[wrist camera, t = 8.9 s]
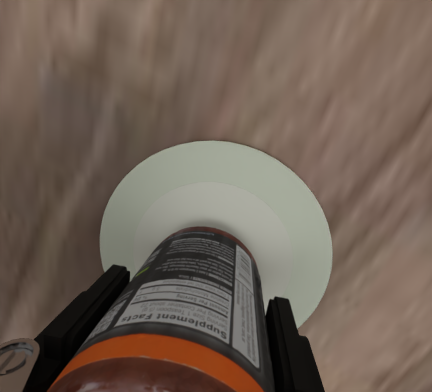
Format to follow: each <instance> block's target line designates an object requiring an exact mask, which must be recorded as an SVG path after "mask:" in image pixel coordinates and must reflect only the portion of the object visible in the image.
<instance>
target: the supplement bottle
mask: <svg viewBox="0 0 432 392" xmlns="http://www.w3.org/2000/svg"><path fill="white" fill-rule="evenodd" d="M47 392H275V380H274V374H273V368H272V359H271V353H270V346H269V337H268V331H267V324H266V317H265V309H264V302H263V294H262V286H261V279H260V275H259V272H258V268H257V264H256V261H255V259H254V258H253V256H252V254H251V252H250V251H249V250H248V249H247V247H246V246H245V245H244V244H243V243H242V242H241V241H240V240H238V239H237V238H236V237H234V236H233V235H231V234H229V233H227V232H226V231H222V230H220V229H216V228H212V227H206V226H196V227H188V228H184V229H181V230H179V231H177V232H175V233H173V234H171V235H170V236H168V237H167V238H166V239H165V240H163V241H162V242H161V243H160V244H159V245H158V246H157V247H156V249H155V250H154V251H153V252H152V254H151V255H150V256H149V257H148V259H147V260H146V261H145V263H144V264H143V265H142V267H141V268H140V269H139V271H138V272H137V273H136V274H135V276H134V277H133V278H132V280H131V281H130V282H129V284H128V285H127V286H126V287H125V289H124V290H123V291H122V293H121V294H120V295H119V297H118V298H117V299H116V300H115V302H114V303H113V304H112V306H111V307H110V309H109V310H108V311H107V312H106V314H105V315H104V316H103V318H102V319H101V321H100V322H99V323H98V324H97V326H96V327H95V328H94V330H93V331H92V332H91V334H90V335H89V336H88V338H87V339H86V340H85V342H84V343H83V344H82V346H81V347H80V348H79V350H78V351H77V352H76V353H75V355H74V356H73V358H72V359H71V360H70V361H69V363H68V364H67V366H66V367H65V368H64V369H63V371H62V372H61V373H60V375H59V376H58V377H57V379H56V380H55V381H54V383H53V384H52V385H51V387H50V388H49V389H48V391H47Z"/></svg>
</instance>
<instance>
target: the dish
mask: <svg viewBox="0 0 432 392" xmlns="http://www.w3.org/2000/svg"><path fill="white" fill-rule="evenodd" d="M196 226H206V227H212V228H216V229H220V230H222V231H226V232H227V233H229V234H231V235H233V236H234V237H236V238H237V239H238V240H240V241H241V242H242V243H243V244H244V245H245V246H246V247H247V249H248V250H249V251H250V252H251V254H252V256H253V258H254V259H255V261H256V264H257V268H258V272H259V275H260V279H261V286H262V294H263V302H264V309H265V315H266V311H267V307H268V303H269V300H270V299H274V297H275V296H277V297H282V298H287V299H289V301H290V305H291V308H292V312H293V315H294V319H295V323H296V326H297V329H298V328H299V327H300V326H301V325H302V324H303V323H304V322H305V321H306V320H307V319H308V318H309V317H310V315H311V314H312V313H313V311H314V310H315V309H316V307H317V306H318V304H319V302H320V300H321V299H322V297H323V295H324V292H325V290H326V287H327V285H328V281H329V277H330V273H331V268H332V255H333V254H332V240H331V235H330V231H329V226H328V223H327V220H326V218H325V215H324V213H323V210H322V208H321V207H320V205H319V203H318V201H317V200H316V198H315V196H314V195H313V193H312V192H311V191H310V189H309V188H308V187H307V186H306V184H305V183H304V182H303V181H302V180H301V179H300V178H299V177H298V176H297V175H296V174H295V173H294V172H293V171H292V170H290V169H289V168H288V167H286V166H285V165H284V164H282V163H281V162H279V161H278V160H277V159H275V158H273V157H272V156H270V155H268V154H266V153H264V152H262V151H260V150H257V149H255V148H252V147H250V146H247V145H243V144H238V143H234V142H228V141H217V140H210V141H196V142H191V143H185V144H180V145H177V146H174V147H170V148H167V149H164V150H162V151H160V152H158V153H156V154H154V155H152V156H150V157H148V158H147V159H146V160H144V161H143V162H141V163H140V164H138V165H137V166H136V167H135V168H134V169H133V170H131V171H130V172H129V173H128V174H127V175H126V176H125V177H124V179H123V180H122V181H121V182H120V184H119V185H118V186H117V187H116V189H115V191H114V193H113V194H112V196H111V198H110V199H109V202H108V204H107V207H106V209H105V212H104V215H103V219H102V223H101V231H100V254H101V260H102V266H103V269H104V272H106V271H107V270H108V269H109V268H110V267H111V266H112V265H113V264H115V265H120V266H125V267H127V271H130V281H131V280H132V278H133V277H134V276H135V274H136V273H137V272H138V271H139V269H140V268H141V267H142V265H143V264H144V263H145V261H146V260H147V259H148V257H149V256H150V255H151V254H152V252H153V251H154V250H155V249H156V247H157V246H158V245H159V244H160V243H161V242H162V241H163V240H165V239H166V238H167V237H168V236H170V235H171V234H173V233H175V232H177V231H179V230H181V229H184V228H188V227H196Z"/></svg>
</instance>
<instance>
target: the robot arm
mask: <svg viewBox="0 0 432 392" xmlns="http://www.w3.org/2000/svg"><path fill="white" fill-rule="evenodd" d="M129 282H130V271H127V267H125V266H120V265H115V264H113V265H112V266H111V267H110V268H109V269H108V270H107V271H106V272H105V273H104V274H103V275H102V276H101V277H100V278H99V279H98V280H97V281H96V282H95V283H94V284H93V285H92V286H91V287H90V288H89V289H88V290H87V291H84V292H82V293H81V294H79V295H78V296H77V297H76V298H75V299H74V300H73V301H72V302H71V303H70V304H69V305H68V306H67V307H66V308H65V309H64V310H63V311H62V312H61V313H60V314H59V315H58V316H57V317H56V318H55V319H54V320H53V321H52V322H51V323H50V324H49V325H48V326H47V327H46V328H45V329H44V330H43V331H42V332H41V333H40V334H39V335H38V336H37V337H36V338H35V339H34V340H32V339H29V338H20V339H15V340H11V341H8V342H5V343H3V344H1V345H0V392H47V391H48V389H49V388H50V387H51V385H52V384H53V383H54V381H55V380H56V379H57V377H58V376H59V375H60V373H61V372H62V371H63V369H64V368H65V367H66V366H67V364H68V363H69V361H70V360H71V359H72V358H73V356H74V355H75V353H76V352H77V351H78V350H79V348H80V347H81V346H82V344H83V343H84V342H85V340H86V339H87V338H88V336H89V335H90V334H91V332H92V331H93V330H94V328H95V327H96V326H97V324H98V323H99V322H100V321H101V319H102V318H103V316H104V315H105V314H106V312H107V311H108V310H109V309H110V307H111V306H112V304H113V303H114V302H115V300H116V299H117V298H118V297H119V295H120V294H121V293H122V291H123V290H124V289H125V287H126V286H127V285H128V284H129ZM265 317H266V324H267V331H268V337H269V346H270V353H271V359H272V368H273V374H274V380H275V392H325V391H324V387H323V384H322V381H321V378H320V375H319V372H318V369H317V365H316V362H315V359H314V356H313V353H312V350H311V347H310V343H309V341H308V338H307V337H305V336H300V335H299V333H298V330H297V326H296V323H295V319H294V315H293V312H292V308H291V305H290V301H289V299H287V298H282V297H277V296H275V297H274V299H270V300H269V303H268V307H267V311H266V315H265Z"/></svg>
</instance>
